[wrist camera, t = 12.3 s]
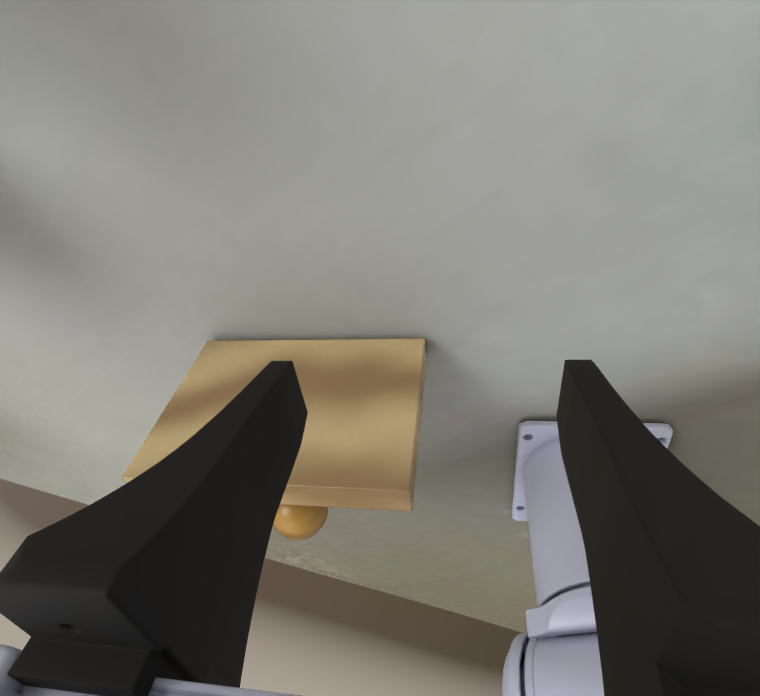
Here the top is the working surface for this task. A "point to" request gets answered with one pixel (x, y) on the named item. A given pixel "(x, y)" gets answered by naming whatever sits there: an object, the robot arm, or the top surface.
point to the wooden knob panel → (316, 420)
